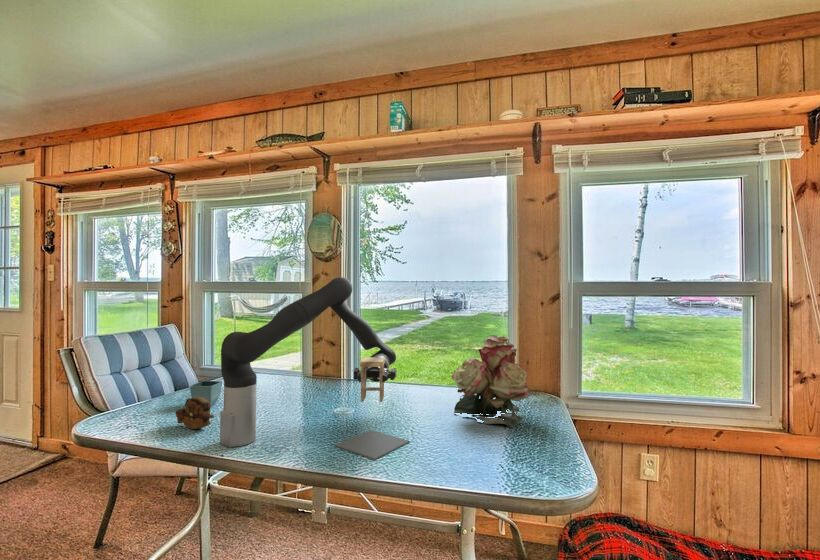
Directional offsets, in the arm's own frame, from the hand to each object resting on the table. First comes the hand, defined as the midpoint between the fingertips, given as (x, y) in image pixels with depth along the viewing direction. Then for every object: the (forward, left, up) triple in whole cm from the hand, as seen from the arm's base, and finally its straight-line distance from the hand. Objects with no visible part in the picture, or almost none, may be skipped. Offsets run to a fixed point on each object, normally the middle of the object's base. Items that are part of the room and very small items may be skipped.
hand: (371, 378), depth 116 cm
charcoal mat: (+1, +1, -20) cm, 20 cm away
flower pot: (-10, +81, -20) cm, 84 cm away
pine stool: (+2, +1, -7) cm, 7 cm away
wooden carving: (-25, +58, -20) cm, 66 cm away
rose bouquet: (+49, -17, -20) cm, 56 cm away
